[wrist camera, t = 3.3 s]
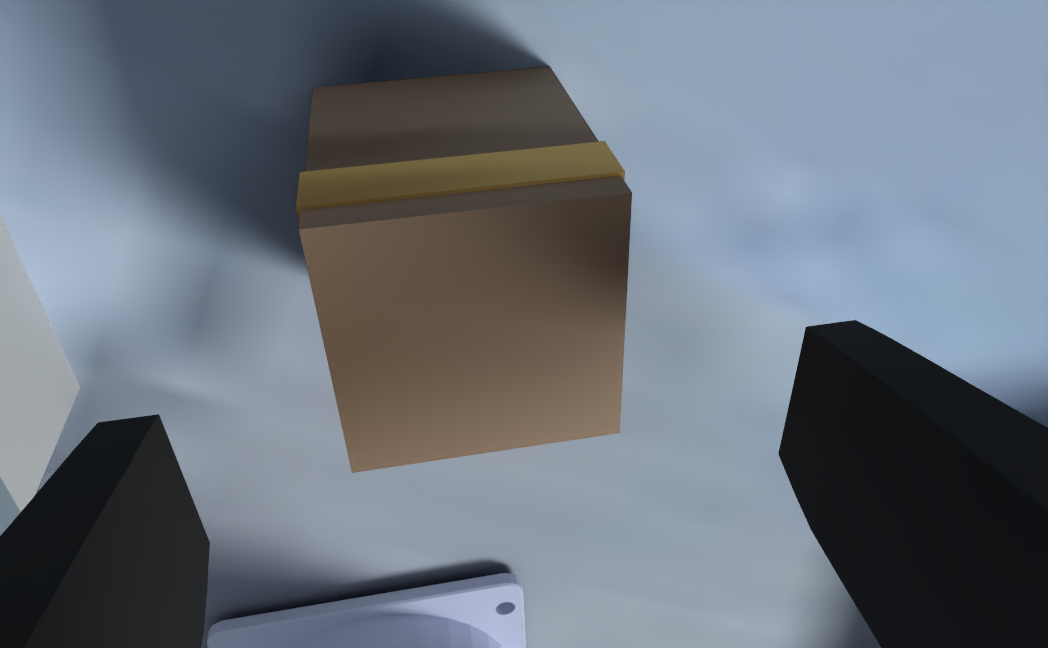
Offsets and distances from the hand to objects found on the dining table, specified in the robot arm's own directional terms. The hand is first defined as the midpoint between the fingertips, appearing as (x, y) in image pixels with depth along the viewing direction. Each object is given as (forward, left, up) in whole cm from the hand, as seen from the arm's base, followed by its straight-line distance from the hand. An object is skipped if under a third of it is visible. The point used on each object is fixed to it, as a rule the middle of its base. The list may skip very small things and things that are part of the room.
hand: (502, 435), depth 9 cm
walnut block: (0, 0, -7) cm, 7 cm away
